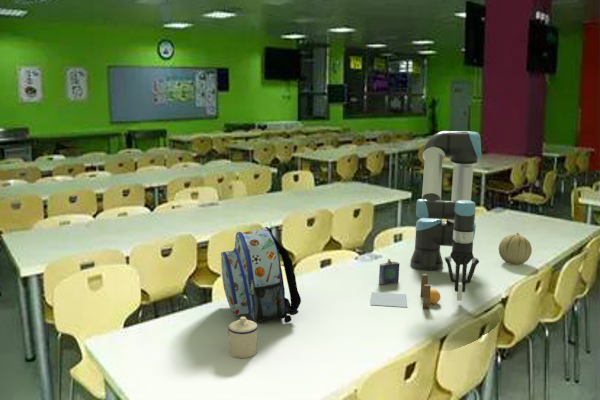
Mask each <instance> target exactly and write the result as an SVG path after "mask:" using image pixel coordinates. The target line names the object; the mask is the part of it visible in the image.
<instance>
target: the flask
mask: <svg viewBox="0 0 600 400" xmlns="http://www.w3.org/2000/svg"><path fill="white" fill-rule="evenodd" d="M391 260H392V259H390V258H388V259H387V262H384V263H383V262H382V263H380V264H379V272H378V273H379V276H378V285H380V286H385V285H393V284H399V280H400V278H399V277H400V262H397V261H391Z"/></svg>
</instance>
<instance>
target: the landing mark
mask: <svg viewBox="0 0 600 400" xmlns="http://www.w3.org/2000/svg"><path fill="white" fill-rule="evenodd" d="M370 296H371V297H370V306H378V307H393V308H408V299H407V294H406V293H391V292H374V291H373V292H371V295H370Z"/></svg>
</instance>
